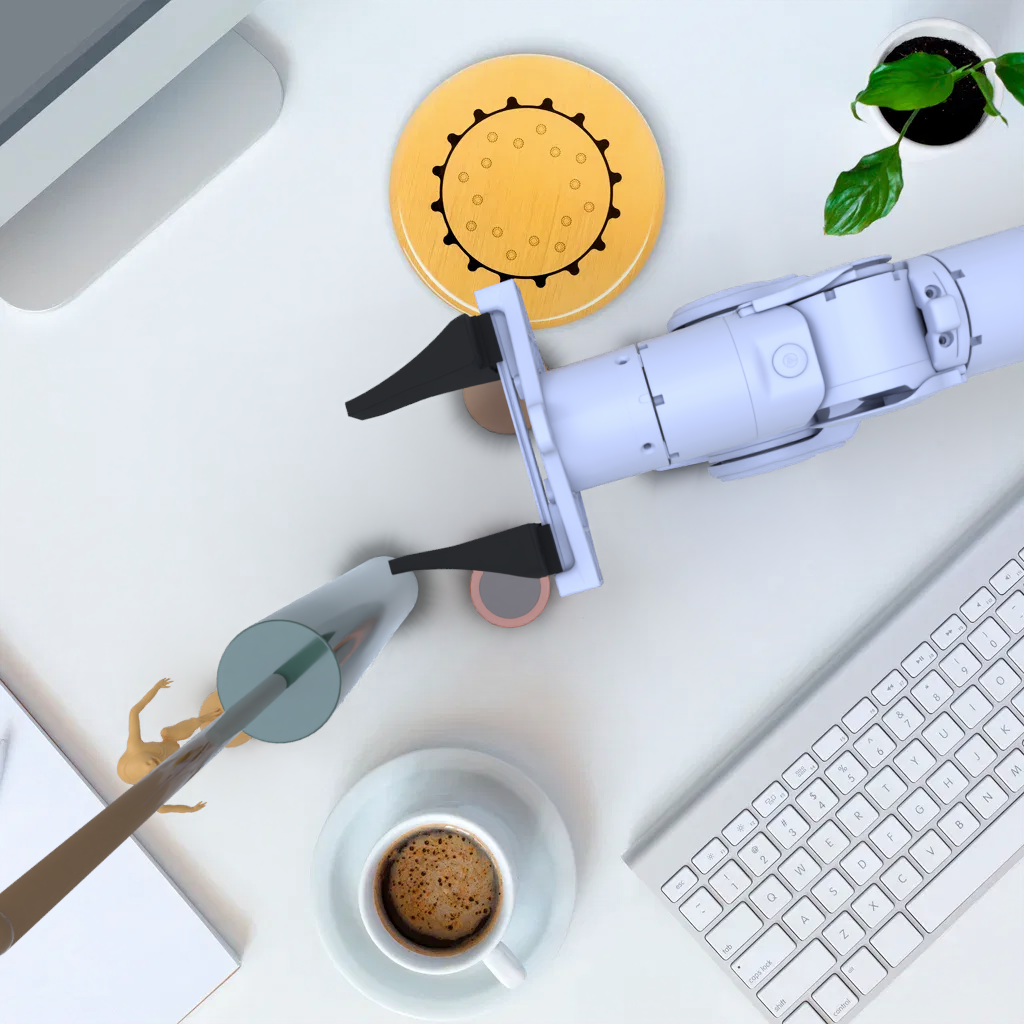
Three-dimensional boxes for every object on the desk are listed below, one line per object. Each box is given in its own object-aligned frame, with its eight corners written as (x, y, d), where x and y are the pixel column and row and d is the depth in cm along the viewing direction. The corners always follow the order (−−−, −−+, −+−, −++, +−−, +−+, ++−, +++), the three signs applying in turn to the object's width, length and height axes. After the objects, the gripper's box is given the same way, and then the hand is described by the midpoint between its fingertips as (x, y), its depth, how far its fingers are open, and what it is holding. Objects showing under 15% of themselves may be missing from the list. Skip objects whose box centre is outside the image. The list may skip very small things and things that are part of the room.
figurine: (282, 760, 65) (231, 823, 53) (198, 782, 65) (127, 850, 53) (250, 643, 65) (192, 680, 53) (165, 666, 65) (87, 707, 53)
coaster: (541, 337, 64) (542, 335, 64) (559, 424, 65) (560, 423, 64) (454, 355, 64) (454, 354, 64) (473, 442, 65) (473, 442, 64)
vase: (410, 549, 65) (85, 774, 15) (424, 615, 65) (149, 1054, 15) (344, 563, 65) (-201, 834, 15) (358, 629, 65) (-134, 1114, 15)
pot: (538, 534, 65) (541, 539, 59) (553, 606, 65) (557, 619, 59) (466, 549, 65) (461, 556, 59) (481, 621, 65) (478, 635, 59)
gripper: (600, 226, 40) (302, 327, 42) (699, 563, 39) (389, 648, 41) (612, 269, 47) (355, 354, 49) (696, 556, 46) (431, 628, 48)
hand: (374, 488), depth 45 cm, fingers open, 7 cm apart
